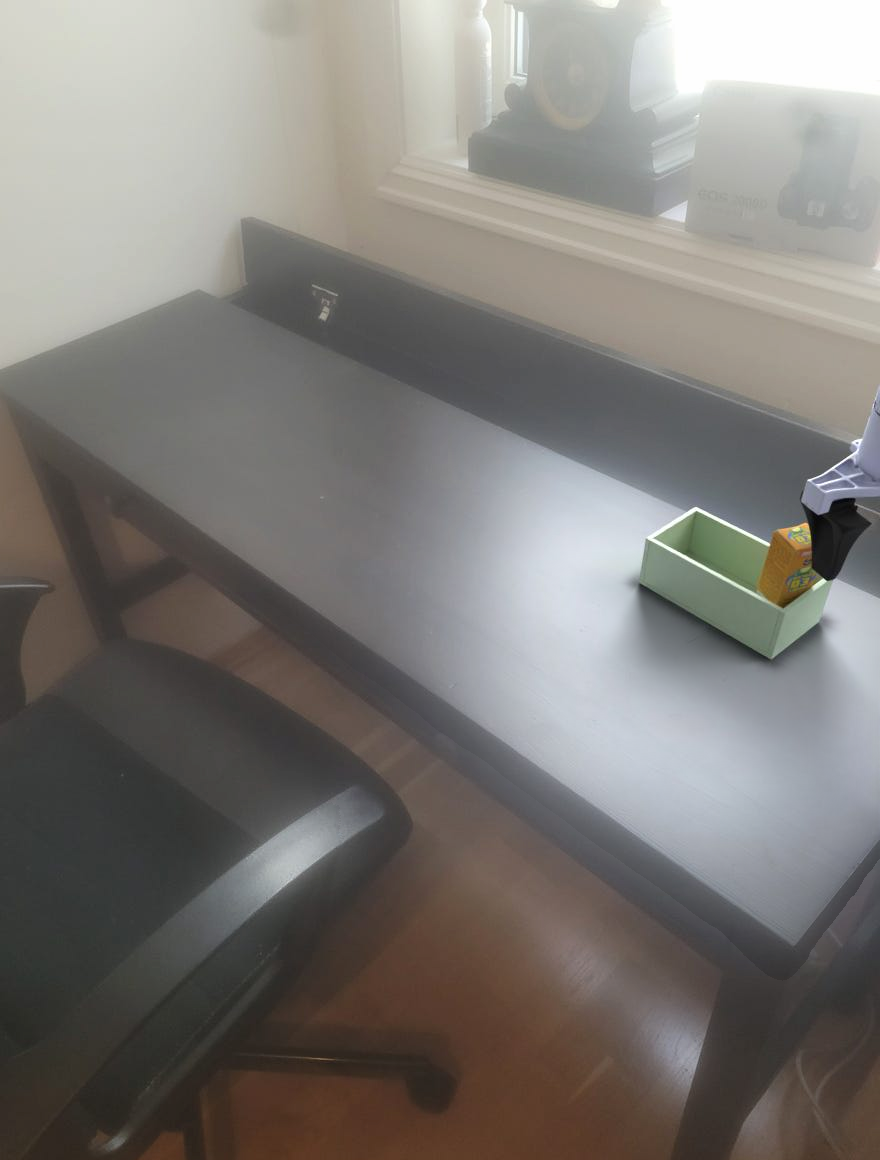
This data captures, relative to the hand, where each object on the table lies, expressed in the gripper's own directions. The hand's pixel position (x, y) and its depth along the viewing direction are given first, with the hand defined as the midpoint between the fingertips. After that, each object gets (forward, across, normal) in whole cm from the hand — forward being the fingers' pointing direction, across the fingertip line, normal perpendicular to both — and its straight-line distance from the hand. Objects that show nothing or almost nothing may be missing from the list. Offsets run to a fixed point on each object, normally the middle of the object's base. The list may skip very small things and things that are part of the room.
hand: (862, 561), depth 73 cm
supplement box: (+10, +2, -5) cm, 11 cm away
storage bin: (+10, +4, -10) cm, 15 cm away
